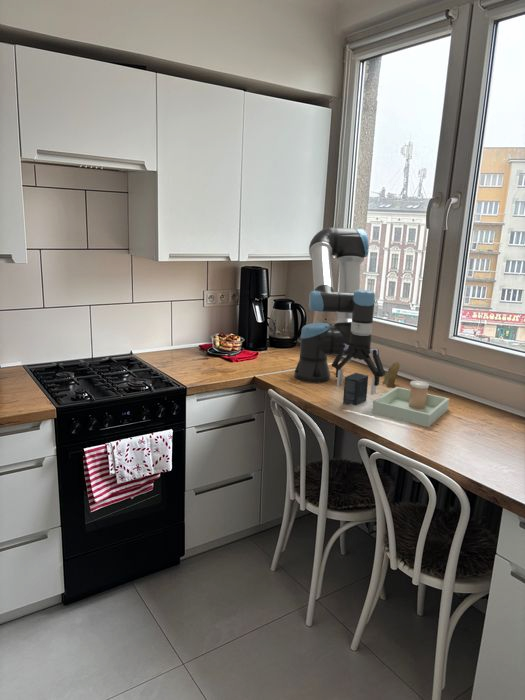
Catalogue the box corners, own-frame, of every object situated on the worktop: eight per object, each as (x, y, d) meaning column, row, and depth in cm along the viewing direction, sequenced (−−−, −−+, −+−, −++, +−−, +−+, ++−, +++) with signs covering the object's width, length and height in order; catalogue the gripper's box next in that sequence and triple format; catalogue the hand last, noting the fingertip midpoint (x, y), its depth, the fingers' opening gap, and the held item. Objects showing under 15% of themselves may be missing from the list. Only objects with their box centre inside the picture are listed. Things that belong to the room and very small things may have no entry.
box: (353, 398, 203) (355, 372, 201) (366, 402, 200) (369, 375, 197) (342, 403, 197) (344, 376, 195) (355, 407, 194) (358, 379, 191)
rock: (397, 386, 213) (408, 378, 220) (386, 368, 214) (398, 360, 221) (377, 396, 221) (389, 387, 228) (367, 378, 222) (378, 370, 229)
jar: (404, 406, 195) (407, 383, 193) (411, 401, 200) (413, 379, 198) (422, 410, 191) (425, 387, 189) (428, 406, 196) (431, 383, 194)
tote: (371, 414, 187) (373, 401, 186) (395, 399, 205) (396, 386, 204) (428, 429, 176) (429, 415, 175) (447, 411, 194) (449, 398, 193)
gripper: (325, 329, 196) (321, 385, 201) (389, 340, 182) (383, 399, 187) (334, 327, 202) (330, 381, 207) (398, 337, 188) (392, 394, 193)
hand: (355, 390), depth 197 cm, fingers open, 13 cm apart
